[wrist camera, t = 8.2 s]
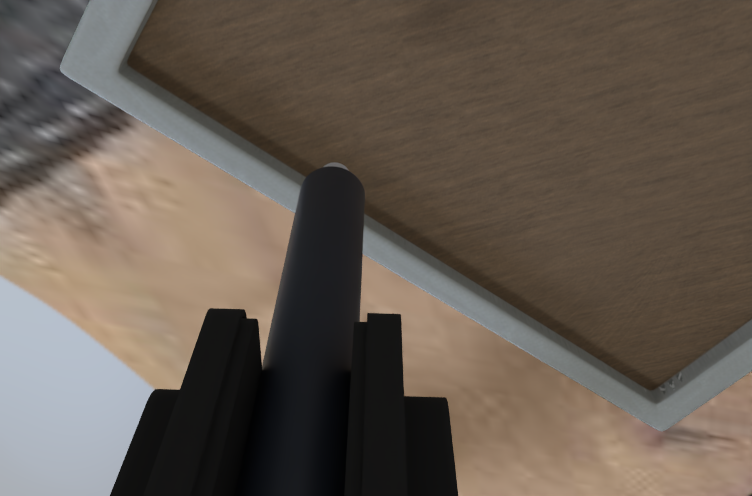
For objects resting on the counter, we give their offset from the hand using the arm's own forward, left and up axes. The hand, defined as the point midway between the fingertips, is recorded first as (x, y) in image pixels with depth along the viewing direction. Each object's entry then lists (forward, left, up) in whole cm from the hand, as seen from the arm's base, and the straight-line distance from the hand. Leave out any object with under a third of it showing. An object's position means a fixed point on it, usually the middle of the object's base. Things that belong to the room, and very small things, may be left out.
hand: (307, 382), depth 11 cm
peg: (0, 0, -8) cm, 8 cm away
